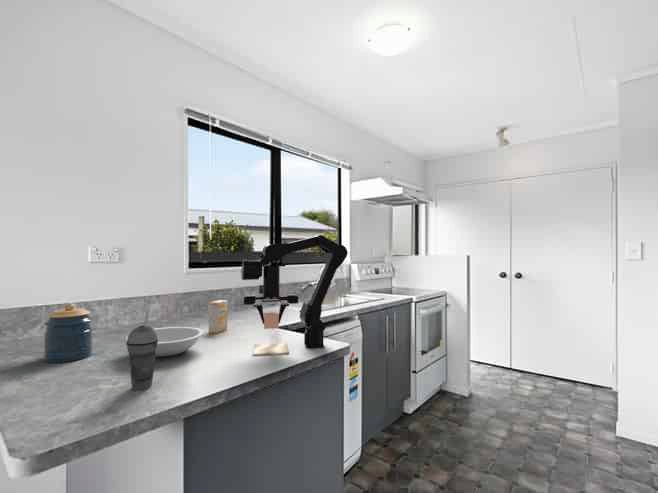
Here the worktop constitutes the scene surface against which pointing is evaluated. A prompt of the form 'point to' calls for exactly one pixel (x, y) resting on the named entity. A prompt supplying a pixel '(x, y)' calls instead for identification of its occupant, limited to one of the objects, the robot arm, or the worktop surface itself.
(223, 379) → the worktop surface
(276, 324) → the coral cube
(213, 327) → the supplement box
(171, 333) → the soup bowl
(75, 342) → the canister
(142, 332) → the beverage cup
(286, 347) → the birch board
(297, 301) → the robot arm
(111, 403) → the worktop surface
